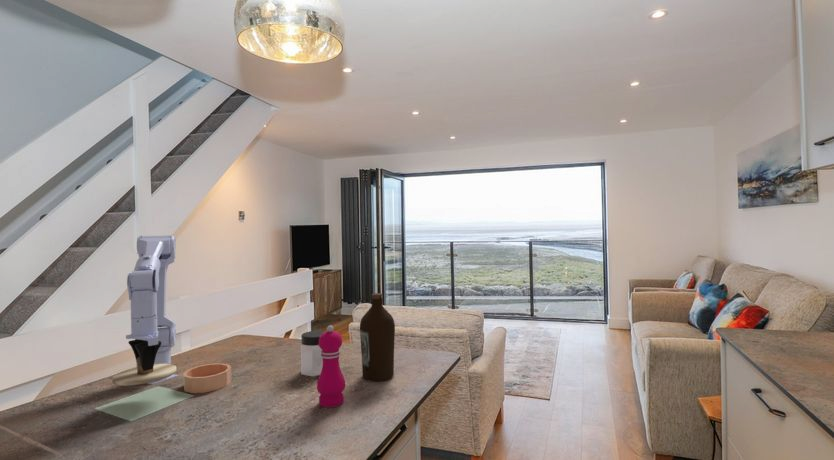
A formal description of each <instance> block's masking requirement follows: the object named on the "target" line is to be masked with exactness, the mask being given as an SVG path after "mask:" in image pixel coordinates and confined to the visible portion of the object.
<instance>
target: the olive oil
mask: <svg viewBox="0 0 834 460" xmlns="http://www.w3.org/2000/svg"><path fill="white" fill-rule="evenodd" d="M383 299H384V298H383V293H380V292H377V293H371V299H370V301H371V302H370V303H371V307H369V309H368V310H367V311H366V312H365V313H364V314H363V316H362V318H361V319H360V323H359V335H360V336H359V338H360V349H361V350H360V351H361V352H360V353H361V365H362V378H363V379H364V380H366V381H369V382H384V381H385V382H386V381H388V380H391V379H392V378H393V377H394V375H395V372H394V371H395V370H394V367H395V360H394V359H395V333H396V332H395V331H396V324H395V321H394V317H393V316H392V315H391V314H390V312H389V311H388V310H387V309H386V308H385V307H384V306H383V305H384V304H383Z"/></svg>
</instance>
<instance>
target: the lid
mask: <svg viewBox="0 0 834 460" xmlns="http://www.w3.org/2000/svg"><path fill="white" fill-rule="evenodd" d="M176 372H177V366H176V364H172V363H171V364H154V366H153V369H150V370H146V371H143V369H142V366H141V360H140V357H138V358H137V366H136V367H132V368H129V369H125V370H123V371H120V372H117V373H116V374H115V375H113V377H112V379H111V380H112V384H113V385H116V386H120V387H121V386H125V387H127V386H137V385H145V384H147V383H150V382H154V381H158V380H161V379H164V378H167V377H169V376H171V375H173V374H176Z"/></svg>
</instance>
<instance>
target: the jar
mask: <svg viewBox="0 0 834 460" xmlns="http://www.w3.org/2000/svg"><path fill="white" fill-rule="evenodd" d="M325 332H326V330H311V331H306V332H303V333H302V334H301V344H300V367H301V368H300V369H301V370H300V373H301V375H303V376H306V377H312V378H314V377H317V376H320V374H321V371H322V367H323V358H322V357H321V351H322V349H321V348H320V347H319V338H320V336H321V335H322V334H323V333H325Z"/></svg>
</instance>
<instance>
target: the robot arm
mask: <svg viewBox="0 0 834 460" xmlns="http://www.w3.org/2000/svg"><path fill="white" fill-rule="evenodd" d="M136 252H137V254H138V257H139V258H138V259H137V261H136V264H135V265H134V269H133V271H131V272H129V273H127V276H126V277H127V278H126V287H127V292H128V299H129V301H130V322H131V323H130V329H131V330H130V331H131V332H130V334H127V335H125V339H127V340H129V341H128V345H129V346H130V348H131V349H132V351H133V354H134V357H135V358H134V359H135V361H136V367H137V358H138V357H140V360H141V366H142V369H143V371H146V370H150V369H153V366H154V364H172V356H171V355H172V353H171V352H172V348H174V347H175V345H176V342H177V332H176V331H177V330H176V323H175V322H174V320H172V319H171V318H169V317H167V316H166V307H167V306H166V304H167V301H166V300H167V299H166V298H167V271H168V268H169V265H171V264H173V263H175V259H176V236H174V235H173V234H169V235H166V234H165V235H139V236H138V237H137V239H136ZM178 376H179V375H178V374H176V373H174V374H173V375H171V376H169V377H167V378H164V379H161V380H158V381H154V382H150V383H146V384H148V385H155V384H158V383H160V382H164V381H167V380H170V379H172V378H176V377H178Z"/></svg>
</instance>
